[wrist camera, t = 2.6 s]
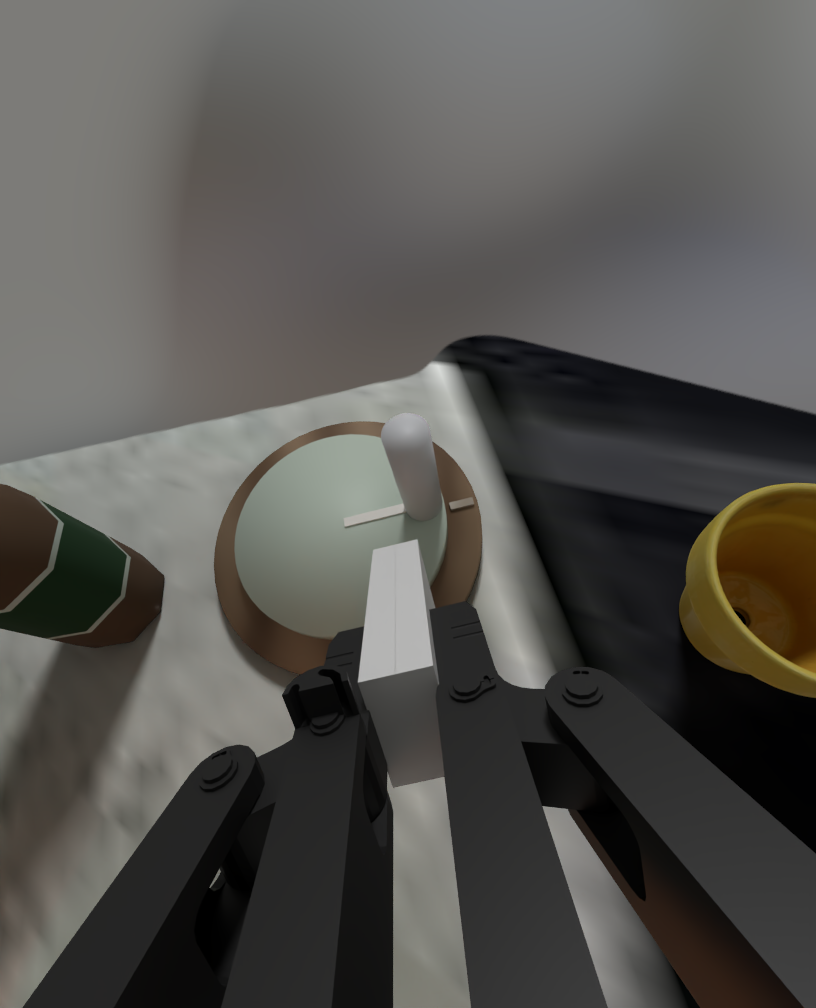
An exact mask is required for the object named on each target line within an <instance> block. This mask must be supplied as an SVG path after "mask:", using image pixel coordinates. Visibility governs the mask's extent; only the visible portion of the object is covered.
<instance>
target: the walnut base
mask: <svg viewBox="0 0 816 1008" xmlns="http://www.w3.org/2000/svg"><path fill="white" fill-rule="evenodd" d="M384 425H385V423H379V422H348V423H341V424H336V425H331V426H326V427H323V428H320V429H317V430H314V431H311V432H309V433H307V434H304V435H302V436H299V437H297V438H296V439H294V440H292V441H290V442H288V443H287V444H285V445H283V446H282V447H281V448H279V449H278V450H276V451H275V452H273V453H272V454H271V455H269V456H268V457H267V458H266V459H265V460H264V461H263V462H261V463H260V464H259V465H258V466H257V467H256V468H255V469H254V470H253V471H252V473H251V474H250V475H249V476H248V477H247V478H246V480H245V481H244V482H243V483H242V485H241V486H240V487H239V489H238V490H237V492H236V494H235V495H234V497H233V499H232V500H231V502H230V504H229V506H228V508H227V510H226V513H225V515H224V517H223V520H222V523H221V526H220V529H219V532H218V536H217V542H216V547H215V558H214V571H215V583H216V587H217V592H218V597H219V600H220V602H221V605H222V608H223V610H224V613H225V615H226V617H227V618H228V620H229V622H230V624H231V625H232V627H233V629H234V630H235V631H236V632H237V634H238V635H239V636H240V638H241V639H242V640H243V641H244V642H245V643H246V644H247V645H248V646H249V647H250V648H251V649H252V650H254V651H255V652H256V653H257V654H259V655H260V656H262V657H263V658H265V659H266V660H268V661H269V662H271V663H273V664H275V665H277V666H279V667H281V668H284V669H286V670H288V671H291V672H294V673H298V674H303V673H304V672H306V671H308V670H310V669H313V668H316V667H319V666H324V663H325V661H326V654H327V650H328V645H329V644H330V643H331V641H332V640H328V639H319V638H313V637H309V636H306V635H302V634H299V633H297V632H295V631H292V630H290V629H288V628H286V627H284V626H283V625H281V624H279V623H278V622H276V621H274V620H273V619H271V618H269V617H268V616H267V615H266V614H265V613H264V612H262V611H261V610H260V609H259V608H258V607H257V606H256V604H255V603H254V602H253V601H252V600H251V599H250V597H249V595H248V594H247V592H246V590H245V589H244V587H243V585H242V582H241V580H240V577H239V574H238V570H237V566H236V561H235V551H234V548H235V534H236V529H237V524H238V520H239V517H240V514H241V511H242V509H243V507H244V504H245V502H246V500H247V498H248V497H249V495H250V493H251V492H252V490H253V488H254V487H255V486H256V484H257V483H258V482H259V480H260V479H261V478H262V477H263V476H264V475H265V474H266V473H267V471H268V470H269V469H270V468H272V467H273V466H274V465H275V464H276V463H277V462H278V461H280V460H281V459H283V458H284V457H285V456H287V455H288V454H290V453H291V452H293V451H295V450H297V449H298V448H300V447H302V446H305V445H307V444H309V443H312V442H314V441H317V440H320V439H324V438H328V437H333V436H338V435H349V434H356V435H369V436H375V437H379V438H381V431H382V428H383V426H384ZM432 443H433V449H434V455H435V461H436V466H437V472H438V478H439V484H440V489H441V493H442V496H443V499H444V504H445V509H446V515H447V523H448V538H447V547H446V551H445V556H444V560H443V562H442V565H441V567H440V570H439V573H438V574H437V576H436V578H435V580H434V582H433V584H432V585H431V587H430V589H431V593H432V597H433V601H434V605H435V608H438V607H442V606H447V605H451V604H455V603H459V602H464V601H467V599H468V597H469V595H470V593H471V591H472V588H473V585H474V583H475V580H476V577H477V574H478V569H479V564H480V560H481V550H482V527H481V516H480V512H479V507H478V503H477V499H476V497H475V494H474V492H473V489H472V486H471V484H470V483H469V481H468V479H467V477H466V476H465V474H464V472H463V471H462V470H461V468H460V467H459V466H458V464H457V463H456V462H455V460H454V459H453V458H452V457H451V456H449V455H448V454H447V453H446V452H445V451H444V450H443V449H442V448H441V447H439V446H438V445H437V444H435V443H434V442H433V441H432Z"/></svg>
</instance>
